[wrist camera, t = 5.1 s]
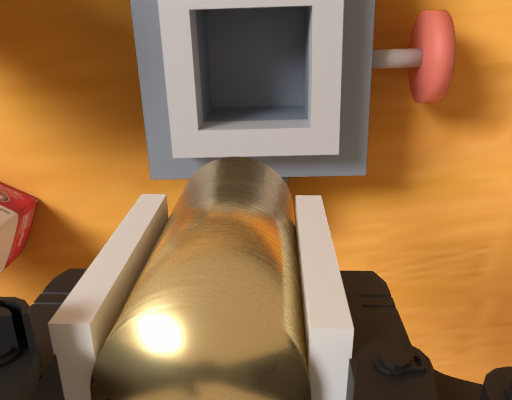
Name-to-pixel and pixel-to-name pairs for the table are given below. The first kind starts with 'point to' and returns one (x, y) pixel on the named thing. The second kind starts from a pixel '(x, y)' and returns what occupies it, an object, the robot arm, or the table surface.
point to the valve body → (272, 81)
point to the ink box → (14, 222)
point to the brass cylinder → (215, 298)
